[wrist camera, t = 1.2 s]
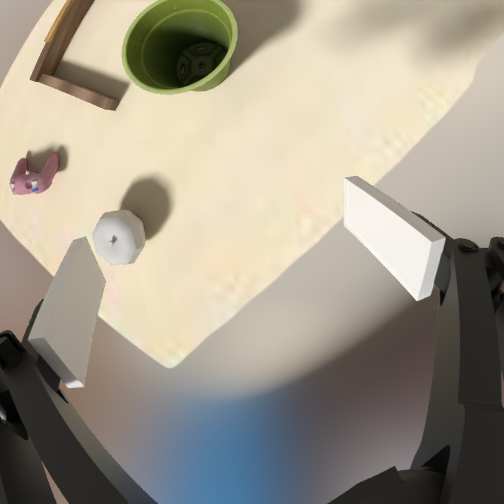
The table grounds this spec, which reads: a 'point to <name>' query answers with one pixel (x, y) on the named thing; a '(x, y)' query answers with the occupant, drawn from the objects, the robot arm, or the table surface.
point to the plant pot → (180, 46)
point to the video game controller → (33, 177)
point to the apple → (119, 237)
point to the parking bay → (55, 49)
